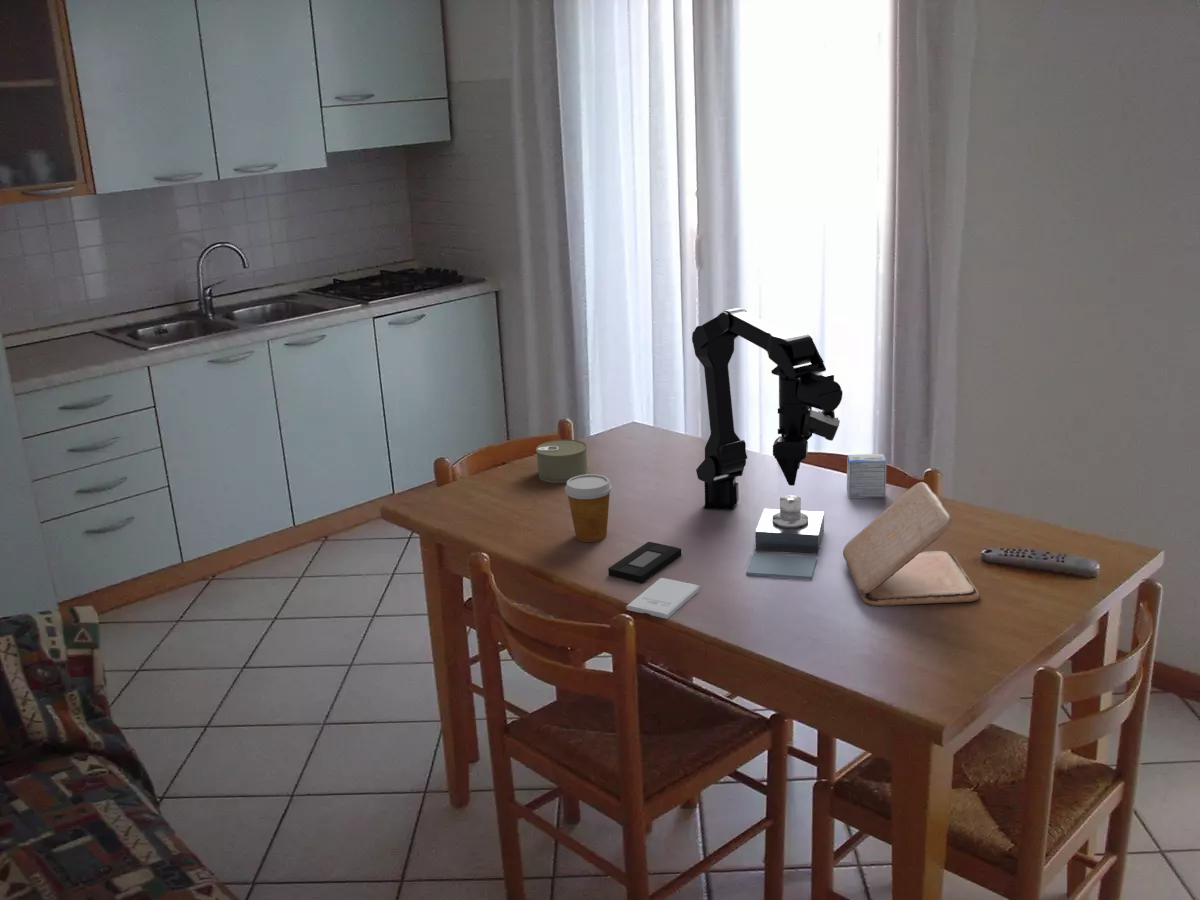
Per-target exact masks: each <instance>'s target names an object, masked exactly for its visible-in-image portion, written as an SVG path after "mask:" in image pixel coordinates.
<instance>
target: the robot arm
mask: <svg viewBox="0 0 1200 900" xmlns="http://www.w3.org/2000/svg"><path fill="white" fill-rule="evenodd" d="M738 337H741V338H743V339H745V340H746V341H748V342H750V343H752V344H754V345H756V346H757V347H759V348H761V349H763V350H765V352H767V356H768V358H769V359H770V360H771V361H772V362H773V363H774V364H775V365H776V367H774V368H773V369H771V374H772V375H775V376H778V406H777V415H778V427H777V434H778V435H781V436H778V437H777V438H775V440H774V442H773V444H772V456H773V457H774V459H776V461H777V463H778V466H779V468H780V470H781V471H782V473H783V476H784V479H785V480H786V482H787V485H788V486H793V487H794V486H795V484H796V479H797V474H798V472H799V471H798V470H799V469H800V466H801V462H802V461H803V460H805V459H806V458H807V456H808V448H809V439H810V438H812V436H813V435H816V436H820V437H822V438H825V440H827V441H830V442H831V441H832V442H833V441H834V438H835V437H836V434H837V431H838V429H839V426H840V422H841V421H840V419H839V417H836V416H835V410H836V409H837V408H838V407H839V405H840V404H841V403H842V399H843V390H842V387H841V385H840V384H839V383H838V382H837V381H835V375H834V374H832V373H824V372H826V371H827V368H826V365H825V364H824V363H825V361H824V360H823V358H822V356H821V354H820V353H819V350H818V348H817V346H816V344H815V342H814V339H813V338H812V336H811V335H809V334H808V333H805V332H801V331H798V330H785V329H780V328H778V327H776V326H775V325H773V324H770V323H769V322H767V321H765V320H763V319H761V318H760V317H757V316H755V315H753V314H750V312H747V310H746V309H745V308H742V307H736V308H732V309H726V310H723V311H722V312H720V313H719V314H718V315H716V316H715V317H714V318H712V319H710V320H708V321H706V322H705V323H704V324H702V325H701V324H700V325H698V326H696V327H695V328H694V331H692V333H691V342H692V345H693V351H694V354H695V357H696V358H697V359H698V361H699V362H700V364H701V365H702V366H703V369H704V370H703V371H704V379H705V388H706V389H705V390H706V400H707V409H708V418H709V421H708V422H709V427H710V428H709V429H710V435H709V438H708V439H707V442H706V444H705V447H704V460H703V461H702V462H701V463H700V464H699V466H698V467H697V468H696V469H695V472H696V476H697V479H698V480H699V481H701V482H703V483H704V504H703V507H702V508H703V509H704V510H705V509H707V510H709V509H711V510H727V511H733V510H734V509H735V506H736V505H738V503H739V497H740V496H739V493H740V492H739V483H738V482H736V478H738V477H742V476H743V474H744V470H745V466H746V464H747V459H748V455H747V451H746V450H747V449H746V446H747V445H746V444H747V443H746V442H745V440H743V439H740V437H739V436H738V435H737V433H736V432H735V425H734V423H735V422H734V414H733V404H732V394H731V382H730V372H729V363H730V361H731V359H732V356H733V354H734V352H735V340H736V339H737V338H738ZM809 363H810V364H809ZM806 364H807V365H806ZM813 408H814V409H817V410H818V411H816V410H813Z"/></svg>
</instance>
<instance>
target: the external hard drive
mask: <svg viewBox="0 0 1200 900" xmlns="http://www.w3.org/2000/svg"><path fill="white" fill-rule="evenodd" d="M699 592H700V585H698V584H695V583H688V582H684V581H680V580H675V579H671V578H665V577H660V578H659V579H657V580H656V581H655V582H654V583H653V584H651V585H650V586H649V587H648V588H647V589H645V590H644V591H643V592H641V593H640V594H639V595H638V596H637V597H635V598H634V599H633V600H632V601H631V602H630V603H628V604H627V605H626V606H625V607H626V610H627V611H631V612H635V613H640V614H647V615H650V616H652V617H657V618H661V619H666V620H667V619H669V618H670V617H671V616H672V615H673V614H675V613H676V612H677V611H678V610H680V608H681V607H683V606H684V605H685V604H686V603H687V602H688V601H690V599H692V598H693V597H694V596H696V594H697V593H699Z"/></svg>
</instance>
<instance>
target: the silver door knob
mask: <svg viewBox="0 0 1200 900" xmlns="http://www.w3.org/2000/svg"><path fill="white" fill-rule="evenodd" d="M801 502H802V501H801V497H800V496H798V495H793V494H788V495H787V494H785V495H783V496H781V497H780V498H779V510H780V512H779V513H776V514H775V515H773V517H772V522H773V524H774V525H776V526H778V527H782V528H800V527H803V526H805V525H807V524H808V516H807V515H806V514H804V513H801V511H802V510H801V509H802V508H801V507H802V505H801V504H802V503H801Z"/></svg>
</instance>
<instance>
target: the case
mask: <svg viewBox="0 0 1200 900" xmlns="http://www.w3.org/2000/svg"><path fill="white" fill-rule="evenodd" d="M952 522H953V519H952V516H951V514H950V512H948V510H947V509H946V508H945V504H944V502H943V501H942V500H941V498H940V497H939V496H938V495H937V494H936V493H935V492H934V491H932V488H931V487H930V486H929V484H928V483H925V482H924V481H920V482H918V483H916V484H914V485H913V486H911V487H910V488H909V489H907V491H906V492H904V493H903V494H902V495H901V496H900V497H899V498H898V499H896V501H894V502H893V503H892V504H890V505H889V506H888V507H887V508H886V509H885V510H884V511H882V513H880V514H879V515H878V516H877V517H876V518H875V519H874V520H872V521H871V522H870V523H869V524H867V526H865V528H863V529H862V530H861V531H860V532H859V533H857V534H856V535H855V536H854V537H853V538H852V539H850V540H849V541H848V542H847V543H846V544H845V546H844V548H843V551H842V555H843V558H844V560H845V562H846V566H847V568H848V570H849V572H850V574H851V576H852V578H853V581H854V584H855V585H856V589H857V590H858V592H859V596H860V598H861V600H862V601H863V602H864V603H865V604H866V605H868V606H871V607H872V606H873V607H886V606H887V607H889V606H902V605H904V606H906V605H907V606H908V605H925V604H948V603H953V604H954V603H971V602H976V601H977V600H978V599H979V598H980V593H979V590H978V589H977V588H976V586H975V585H974V583H973V582H972V580H971V579H970V577H969V576H968V575H967V573H966V572H965V570H964V568H963V567H962V565H961V564H960V563H959V561H958V559H957V557H956V556H955V555H953V554H951V553H950V552H948V551H945V550H930V551H929V550H928V551H925V549H926V548H928V547H930V545H931V544H933V543H935V542H936V541H937V539H939V538H940V536H943V535H944V533H945V532H947V530H949V528H950V526H951V525H952Z"/></svg>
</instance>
